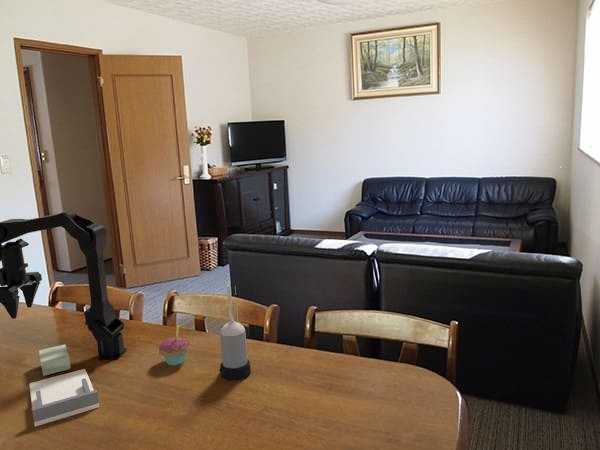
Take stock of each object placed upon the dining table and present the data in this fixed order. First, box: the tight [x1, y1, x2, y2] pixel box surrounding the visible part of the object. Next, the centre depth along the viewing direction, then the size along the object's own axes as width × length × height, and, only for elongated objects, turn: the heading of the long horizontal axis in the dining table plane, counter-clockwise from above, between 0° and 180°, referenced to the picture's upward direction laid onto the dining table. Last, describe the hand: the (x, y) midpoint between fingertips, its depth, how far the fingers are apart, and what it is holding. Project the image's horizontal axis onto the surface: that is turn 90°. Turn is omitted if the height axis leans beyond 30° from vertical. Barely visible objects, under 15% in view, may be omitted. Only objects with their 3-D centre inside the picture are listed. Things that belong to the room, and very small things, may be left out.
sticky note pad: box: [38, 344, 71, 377], centre depth 142 cm, size 9×7×5 cm
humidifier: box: [218, 284, 252, 382], centre depth 132 cm, size 8×8×25 cm
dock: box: [28, 368, 100, 427], centre depth 127 cm, size 24×14×5 cm, turn 31°
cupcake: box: [158, 322, 191, 366], centre depth 142 cm, size 9×8×12 cm
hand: (22, 312), depth 149 cm, fingers open, 9 cm apart
